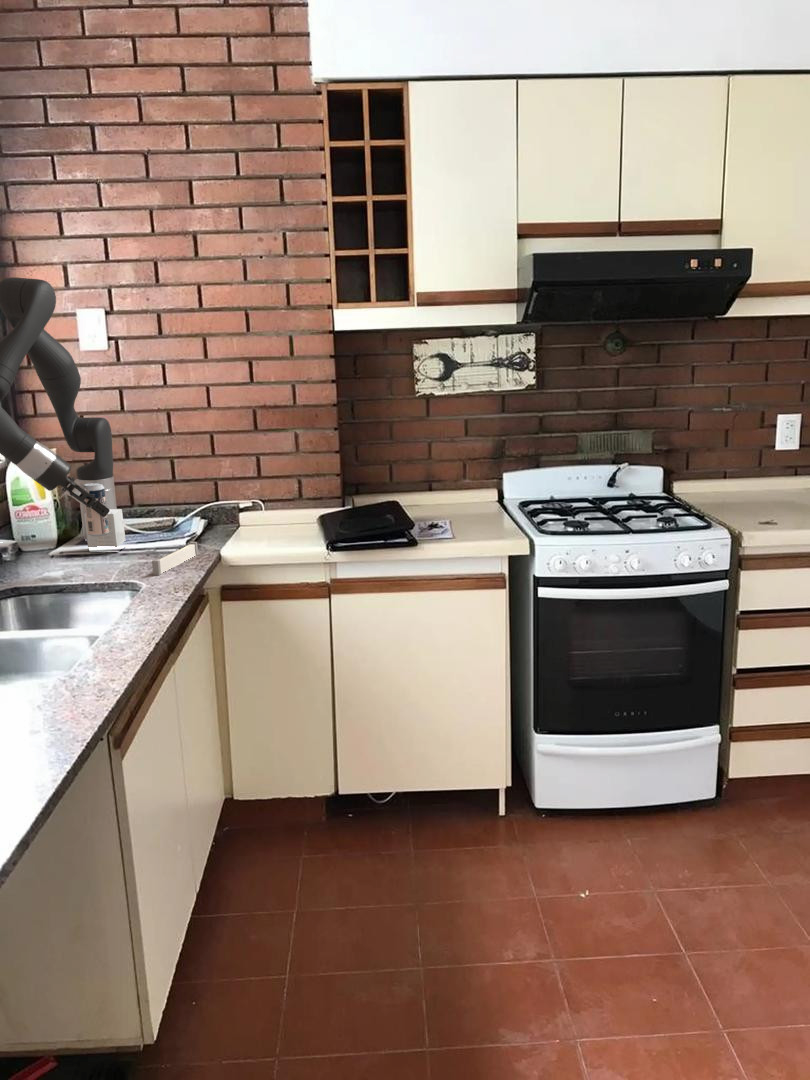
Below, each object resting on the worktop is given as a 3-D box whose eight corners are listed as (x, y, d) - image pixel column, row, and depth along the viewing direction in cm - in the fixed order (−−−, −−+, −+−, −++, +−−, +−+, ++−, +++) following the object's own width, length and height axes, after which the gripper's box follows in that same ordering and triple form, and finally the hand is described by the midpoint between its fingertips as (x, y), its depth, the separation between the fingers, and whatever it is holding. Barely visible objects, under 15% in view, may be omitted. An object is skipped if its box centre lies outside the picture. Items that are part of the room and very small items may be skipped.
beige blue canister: (109, 536, 198) (104, 485, 194) (88, 538, 196) (82, 487, 193) (108, 531, 202) (103, 481, 199) (87, 533, 200) (81, 483, 197)
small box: (126, 547, 223) (122, 508, 221) (117, 553, 218) (113, 513, 215) (97, 547, 224) (93, 508, 222) (87, 553, 219) (83, 513, 216)
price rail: (159, 575, 198) (157, 561, 197) (153, 574, 198) (151, 560, 197) (198, 555, 215) (197, 542, 214) (192, 554, 215) (191, 541, 215)
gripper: (59, 457, 184) (121, 504, 193) (50, 448, 196) (109, 493, 205) (35, 483, 183) (99, 530, 192) (28, 473, 195) (88, 517, 204)
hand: (104, 511), depth 198 cm, fingers closed on beige blue canister, 4 cm apart
